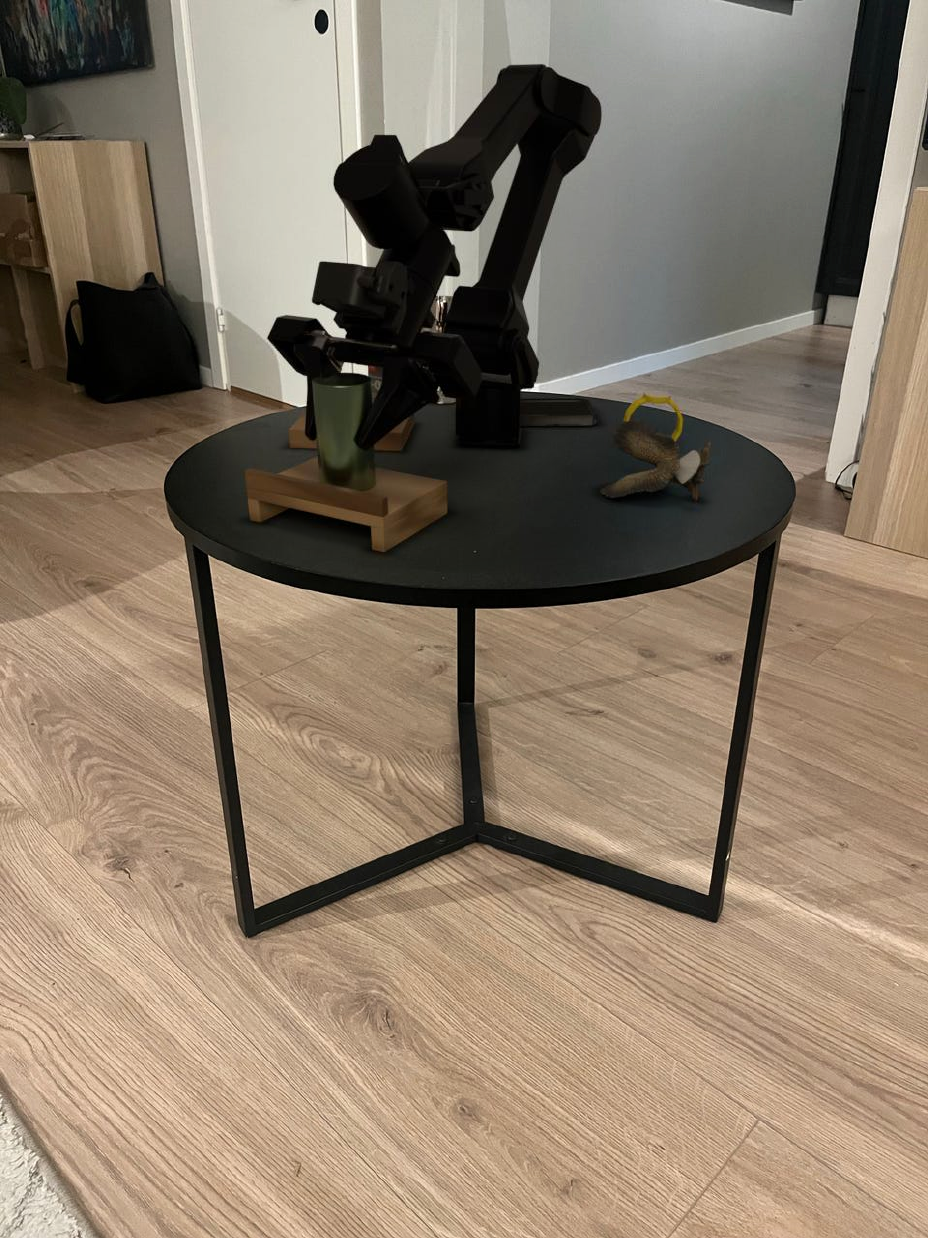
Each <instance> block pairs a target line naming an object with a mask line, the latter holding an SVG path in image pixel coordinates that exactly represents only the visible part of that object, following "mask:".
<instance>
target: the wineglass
mask: <svg viewBox="0 0 928 1238" xmlns="http://www.w3.org/2000/svg"><path fill="white" fill-rule="evenodd" d="M452 298H453V295H436V298H435V300H434V302H433V305H432V307H431V309H430V310H431V312H432V313H433V315H434V317H435V318H436V320H435V322H434V325H433V327H432V329H431V328H422V330H421V332H424V331H428V332H437V333H441V331H442V329H443V327H444V325H445V322H444V318H445V317H446V315H447V313H448V311H449V309H450V306H451V302H452ZM437 394H438V395H439V397H440V399H439V401H438V402H437V403H436V404H441V405H442V404H443V405H445V404H446V405H447V404H453V403H456V399H455V398H448V397H445V396H444V395H443V393H442V392H441V390H440V388H438V390H437Z"/></svg>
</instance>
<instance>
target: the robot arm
mask: <svg viewBox="0 0 928 1238" xmlns="http://www.w3.org/2000/svg"><path fill="white" fill-rule="evenodd" d="M495 82H496V83H495V84H494V85H493V86H492V87H491V89H490V90H489V91H488V93H486V95H485V97H483V99H482V100H481V102H480V103H479V104H478V105H477V106H476V108H475V109H474V110H473V112H471V114H470V115H469V117H468V118H467V119H466V120H465V121H464V122H463V124H462V125H461V126H460V127H459V129H457V132H455V134H454V135H453V136H452V137H451V138H449V139H447V141H444V142H442V143H439V144H436V145H433V146H430V147H427V148H425V149H423V150H422V151H421V152H420V153H419V154H417V155H416V156H415V157H413V158H412V159H410V160H409V161H408V159H407V157H406V155H405V152H404V148H403V146H402V144H401V142H400V140H399V138H398V135H397V134H374V135H373V136H372V137H373V138H372V140H371V141H370V144H367V145H366V146H363V147H360V148H359V149H357V150H356V151H354V152H352V153H351V154H350V155H349V156H348V157H347V158H346V159H345V160H344V161H343V162H341V163H339V164H338V166H337V168H336V169H335V172H334V175H333V182H332V183H333V184H332V185H333V189H334V191H335V193H336V194H337V196H338V197H339V199H340V200H341V203H342V204H343V206H344V207H345V209H346V210H347V212H348V214H349V215H350V217H351V218H352V220H353V222H354V223H355V225H356V226H357V228H358V230H359V231H360V233H361V235H362V236H363V238H364V239H365V241H366V242H367V244H369V245H370V246H371V247H373V248H375V249H379V250H382V252H381V254H380V256H379V259H378V261H377V263H376V265H375V266H367V265H362V264H357V263H349V262H338V261H337V262H336V261H324V260H323V261H319V262H318V266H317V270H316V276H315V281H314V286H313V292H312V297H311V303H312V304H314V305H316V306H323V307H325V308H327V309H329V310H330V311H332V312H334V313H335V315H334V317H333V319H332V320H333V322H334V324H336V326H337V327H338V329H342V330H344V331H345V335H344V337H341V336H340V337H339V336H332V335H331V334H330V333H329V332H328V331H327V330H326V328H325V327H324V326H323V324H322V323H321V321H319V320H318V318H315V317H307V316H297V315H290V314H289V315H288V314H284V315H280V316H277V317H276V318H275V320H274V322H273V324H272V326H271V329H270V331H269V332H268V335H267V337H266V340H268V342H269V343H270V344H271V345H272V346H273V347H274V348H275V350H276V351H277V352H278V353H279V354H280V355H281V357H283V359H284V360H285V361H286V362H287V363H288V364H289V365H290V367H291V368H292V369H293V370H294V371H295V372H296V373H298V374H300V375H302V376H303V377H306V403H305V404H306V406H305V410H306V420H305V436H306V437H307V438H308V439H309V440H310V441H314V440H315V439H316V427H315V413H314V399H313V384H312V380H313V379H314V378H315V377H317V376H320V375H324V374H330V373H342V371H343V366H344V364H345V363H347V364H354V365H358V366H365V367H368V366H372V367H379V368H383V373H382V383H381V386H380V389H379V391H378V393H377V395H376V398H375V400H374V402H373V405H372V407H371V409H370V412H369V414H368V416H367V419H366V421H365V423H364V426H363V428H362V432H361V435H360V438H359V441H358V446H359V447H360V448H361V449H362V450H364V451H367V450H369V449H370V448H371V447H372V446H374V445H375V444H376V443H377V442H378V441H380V440H381V439H382V438H383V437H384V436H386V435H387V434H388V433H389V432H390V431H392V430H393V429H394V428H395V427H396V426H398V425H399V424H400V423H402V422H403V421H404V420H406V419H407V418H408V417H410V416H411V415H413V414H414V415H415V414H416V413H417V412H419V411H420V410H421V409H423V408H425V407H426V406H428V405H429V404H434V405H436V404H437V402H438V401H439V399H440V397H439V395H438V394H437V392H438V391H439V388H440V390H441V392H442V393H443V395H444V396H445V397H448V398H455V399H456V402H455V436H457V437H459V439H458V446H460V447H480V448H481V447H485V448H486V447H487V448H520V447H521V439H522V438H521V437H522V426H520V409H521V399H522V390H531V389H533V388H535V384H536V383H537V381H538V376H539V370H540V369H539V368H540V361H539V359H538V357H537V355H536V353H535V350H534V348H533V346H532V344H531V341H530V339H529V338H528V337H529V333H530V324H529V319H528V317H527V313H526V309H525V305H524V299H525V295H526V292H527V288H528V286H529V284H530V283H529V282H530V280H531V276H532V273H533V271H534V267H535V264H536V261H537V259H538V255H539V252H540V249H541V246H542V243H543V240H544V237H545V234H546V231H547V228H548V225H549V221H550V219H551V215H552V213H553V210H554V207H555V204H556V201H557V198H558V195H559V192H560V188H561V186H562V183H563V180H564V178H565V177H566V176H567V175H568V174H570V173H571V172H572V171H573V170H574V169H575V168H577V167H578V166H579V165H580V164H581V163H582V162H583V161H584V160H585V159H586V158H587V155H588V153H589V151H590V149H591V146H592V144H593V142H594V139H595V138H596V135H597V134H598V133H599V131H600V128H601V124H602V116H603V115H602V112H603V111H602V105H601V104H602V103H601V100H600V99H599V98H598V97H597V96H596V95H595V93H594V92H593V91H592V89H591V87H589V86H588V85H585V84H583V83H580V82H578V81H577V80H573V79H571V78H568V77H565V76H563V75H561V74H559V73H557V71H555V70H554V68H553V67H551V66H547V65H546V64H543V63H533V64H532V63H531V64H509V65H507V66H506V67H503V68H501V69H500V70H499V72H498V74H497V76H496V81H495ZM515 147H517V148H518V152H519V156H520V157H519V161H518V163H517V167H516V170H515V173H514V175H513V179H512V181H511V185H510V188H509V190H508V192H507V196H506V199H505V202H504V206H503V208H502V211H501V214H500V217H499V220H498V223H497V226H496V229H495V232H494V234H493V238H492V241H491V244H490V247H489V249H488V253H487V256H486V259H485V262H484V264H483V268H482V271H481V274H480V277H479V279H478V281H477V282H476V283H474V284H473V285H472V286H469V285H468V286H467V285H458V286H457V288H456V289H455V290H454V292H453V294H452V296H453V298H452V302H451V306H450V309H449V311H448V313H447V315H446V317H445V318H444V322H445V325H444V327H443V329H442V331H441V333H437V332H428V331H424V332H421V330H422V328H431V329H432V327H433V325H434V322H435V320H436V318H435V317H434V315H433V313H432V312H431V310H430V309H431V307H432V305H433V302H434V300H435V298H436V296H438V293H439V291H440V288H441V287H442V284H443V281H444V279H445V277H452V278H453V277H454V278H455V277H456V278H458V277H460V275H461V263H460V261H459V258H458V256H457V253H456V246H455V244H453V243H452V242H451V240H450V238H449V236H448V234H447V232H446V231H449V232H450V231H452V232H467V233H469V232H470V233H471V232H474V231H475V230H477V228H479V227H480V225H481V224H482V223H483V221H484V219H485V217H486V215H487V213H488V211H489V209H490V208H491V205H492V203H493V201H494V199H495V194H494V188H493V182H492V181H493V180H494V177H495V176H496V174H497V172H498V171H499V169H500V168H501V167H502V165H503V164H504V162H506V160H507V159H508V157H509V156H510V154H511V153H512V152H513V150H514V149H515Z"/></svg>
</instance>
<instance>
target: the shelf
mask: <svg viewBox="0 0 928 1238" xmlns="http://www.w3.org/2000/svg"><path fill="white" fill-rule="evenodd" d="M375 477H376V483H375V486H374V487H372V488H371V489H369V490H366V491H357V490H353V489H348V488H343V487H338V486H334V485H329V484H324V483H319V470H318V456H315V457H313V458H310V459H309V460H306V461H304V462H302V463H299V464H297V465H295V466H292V467H290V468H288V469H286V470H283V471H281V472H278V473H276V472H271V471H267V470H262V469H258V468H257V469H256V468H252V467H249V468H247V469H245V470H244V478H245V486H246V495H247V504H248V506H247V507H248V514H249V520H250V521H251V522H256V523H262V522H265V521H266V520H269V519H271V518H273V517H275V516H277V515H279V514H281V513H283V512H285V511H287V510H290V509H293V510H298V511H303V512H307V513H310V514H315V515H319V516H323V517H329V518H333V519H337V520H341V521H346V522H349V523H350V522H351V523H355V524H359V525H363V526H369V527H370V532H371V549H372V550H373V551H377V552H381V553H385V552H387V551H389V550H391V549H392V548H394V547H395V546H397V545H399V544H400V543H402V542H404V541H405V540H407V539H409V538H410V537H411V536H413V535H415V534H416V533H418V532H419V531H421V530H423V529H425V528H426V527H428V526H430V525H431V524H433V523H434V522H436V521H437V520H439V519H441V518H442V517H444V516H446V515H448V481H447V480H442V479H438V478H432V477H427V476H420V475H417V474H411V473H407V472H401V471H396V470H390V469H386V468H382V467H376V466H375Z"/></svg>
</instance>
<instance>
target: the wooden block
mask: <svg viewBox="0 0 928 1238" xmlns="http://www.w3.org/2000/svg"><path fill="white" fill-rule="evenodd" d="M305 420H306V409H305V410H303V412H302V413H301V414H300V416H299V417H298V418H297V419H296V420H295V421H294V422H293V424H292V425H291V426H290V427H289V428H288V441H289V449H313V450H314V449H315V450H317V441H316V439H315V440H314V441H310V440H309V439H308V438H307V437H306V436H305ZM414 425H415V413H414V414H413V415H411V416H410V417H408V418H407V419H406V420H404V421H403V422H402V423H400V424H399V425H398V426H396V427H395V428H394V429H393V430H392V431H390V432H389V433H388V434H387V435H386V436H384V437H383V438H382V439H381V440H380V441H378V442H377V443H376V444H375V445H374V451H384V452H385V451H387V452H389V451H390V452H403V450H404V448H405V445H406V443H407V441H408V439H409V437H410V435H411V433H412V430H413V429H414Z"/></svg>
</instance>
